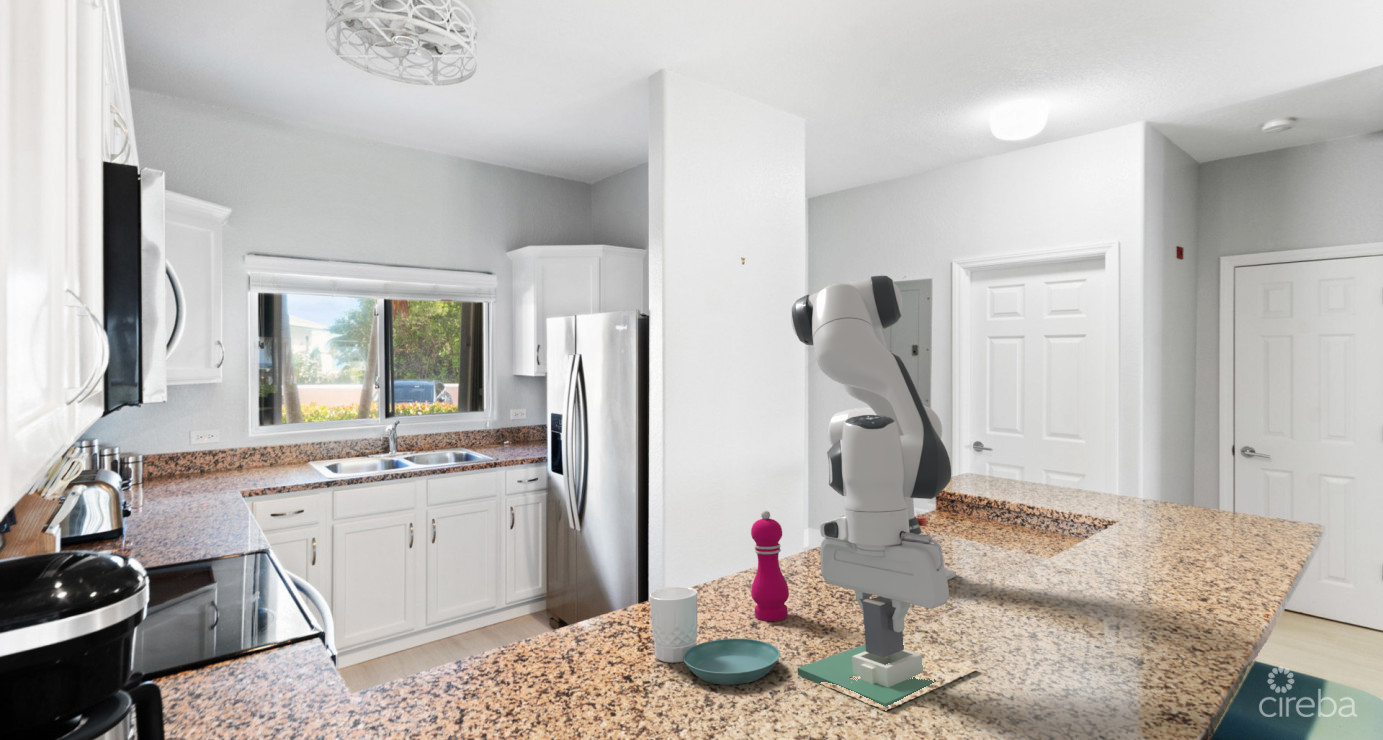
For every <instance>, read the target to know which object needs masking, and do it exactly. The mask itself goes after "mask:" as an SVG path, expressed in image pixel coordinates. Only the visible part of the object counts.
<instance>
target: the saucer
mask: <svg viewBox="0 0 1383 740" xmlns="http://www.w3.org/2000/svg"><path fill="white" fill-rule="evenodd" d="M780 652H781V651H780V650H779V648H777V647H776V646H775V645H774V644H771V643H770V642H766V641H763V640H757V639H751V638H737V637H735V638H734V637H733V638H722V639H714V640H710V641H705V642H701V643H697V645H696V646H694V647H692V648H690V649H689V650H687V651H686V652H685V654H684V656H683V660H684V662H683V663H685V665H686V666H687V668H688V669H689V670H690V671H691V672H692V673H693V674H694V675H696V677H698V678H700V679H701V680H703V681H705V682H707V683H711V684H717V685H723V686H724V685H727V686H729V685H731V686H734V685H744V684H748V683H752V682H756V681H758V680H760V679H762V678H764V677H765V676H766V675H768V674H769V672H771V671H772V670H773V668H774V667H775V666H776V665H777V663H778V661H779V659H780V657H781V653H780Z"/></svg>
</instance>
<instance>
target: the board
mask: <svg viewBox="0 0 1383 740" xmlns="http://www.w3.org/2000/svg"><path fill="white" fill-rule="evenodd" d="M888 663H890V664H888ZM886 664H887V665H886ZM796 669H797V676H799V677H802V678H804V679H807V680H809V681H812V682H814V683H816V684H818V683H821V682H828V683H832V684H836V685H839V686H841V687H844V688H846V689H848V690H851V691H854V692H856V693H858V694H860V695H862V696H864V697H866V698H869V699H871V700H873V701H875V702H877V703H879V704H881V705H883V706H885V707H886V706H888V705H891V704H893V703H894V702H897V701H899V700H901V699H903V698H904V697H906V696H908V695H910V694H912V693H914V692H916V691H918V690H920V689H922V688H924V687H926V686H928V685H930V684H932V683H934V682H936V680H935V679H934V682H933V681H932V680H930V679H929V681H928V680H925V679H924V681H923V680H922V679H921V680H920V679H919V680H918V679H916V678H915V677H913V676H916V675H918V674H920V673H922V672H923V665H922V654H918V653H915V652H912V651H909V650H906V649H904V650H902V651H900V652H897V653H894V654H891V655H889V656H886V657H880V656H877V655H874V654H871V653H868V652H866V645H865V644H862V645H859V646H856V647H854V648H849V649H847V650H845V651H841V652H839V653H836V654H833V655H831V656H827V657H825V658H822V659H819V660H817V661H816V660H815V661H813V662H811V663H807V664H805V665H802V666H799V667H797V668H796ZM853 676H860V677H861V679H858V678H857V679H858V680H857V679H856V678H855V677H854V678H855V679H856V680H857V681H858V682H857V681H856V680H855V679H854V678H853ZM848 677H852V678H853V679H854V680H853V679H850V678H848ZM912 677H913V679H912ZM910 678H911V679H910ZM908 679H909V680H908ZM851 682H852V683H851ZM867 682H868V683H867Z"/></svg>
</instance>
